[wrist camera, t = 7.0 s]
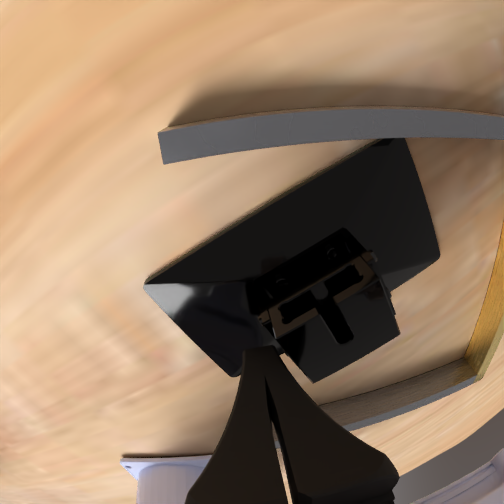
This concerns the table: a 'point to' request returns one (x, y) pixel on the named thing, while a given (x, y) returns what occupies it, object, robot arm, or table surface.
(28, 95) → the table surface
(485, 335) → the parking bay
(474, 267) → the table surface
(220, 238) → the build plate
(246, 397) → the robot arm
